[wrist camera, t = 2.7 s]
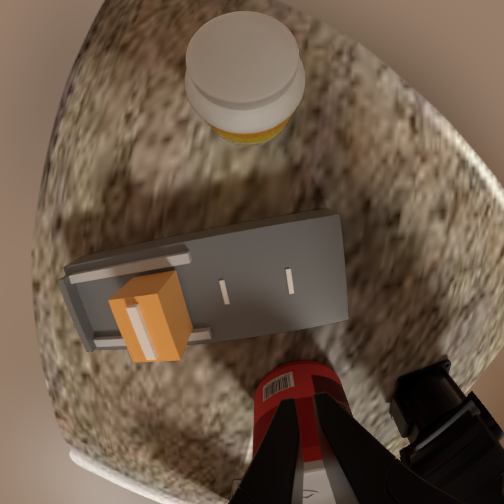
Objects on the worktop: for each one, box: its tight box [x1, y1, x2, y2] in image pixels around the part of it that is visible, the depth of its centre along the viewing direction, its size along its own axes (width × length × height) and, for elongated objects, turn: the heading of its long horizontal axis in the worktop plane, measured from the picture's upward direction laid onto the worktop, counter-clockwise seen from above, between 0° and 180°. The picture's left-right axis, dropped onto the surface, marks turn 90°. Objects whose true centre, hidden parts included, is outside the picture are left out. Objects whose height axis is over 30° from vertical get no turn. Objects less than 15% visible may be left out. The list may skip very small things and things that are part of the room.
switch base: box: [58, 208, 348, 352], centre depth 18 cm, size 19×7×4 cm, turn 101°
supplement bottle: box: [185, 11, 305, 146], centre depth 12 cm, size 5×5×10 cm
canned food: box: [253, 360, 353, 504], centre depth 18 cm, size 8×8×11 cm
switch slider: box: [108, 270, 193, 362], centre depth 15 cm, size 3×4×4 cm
